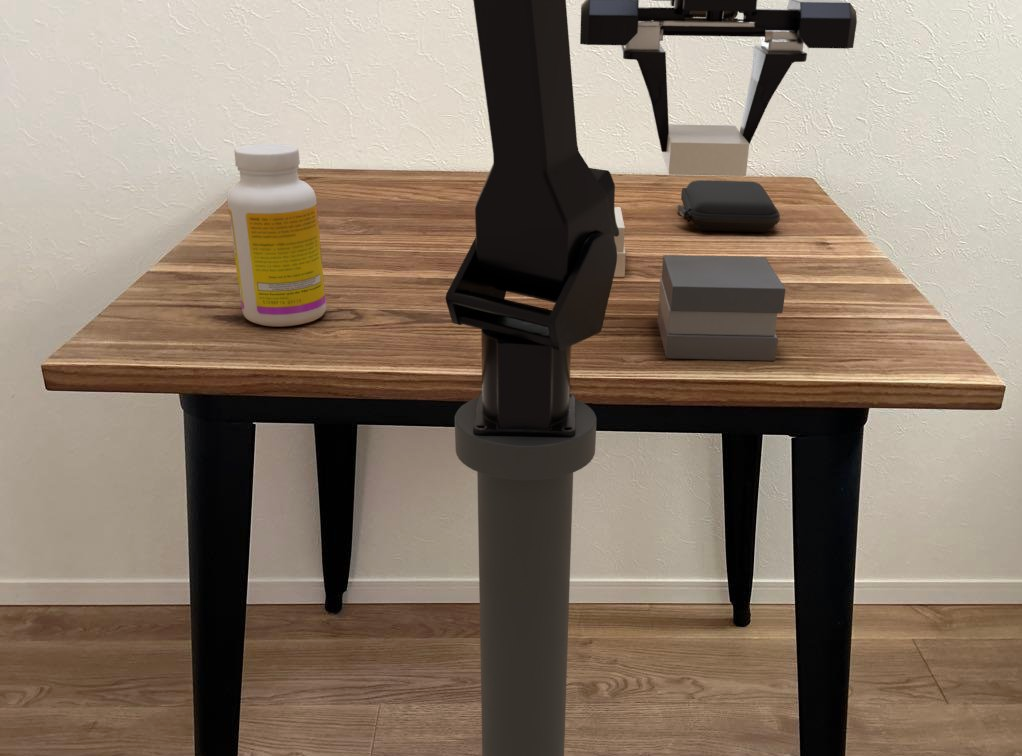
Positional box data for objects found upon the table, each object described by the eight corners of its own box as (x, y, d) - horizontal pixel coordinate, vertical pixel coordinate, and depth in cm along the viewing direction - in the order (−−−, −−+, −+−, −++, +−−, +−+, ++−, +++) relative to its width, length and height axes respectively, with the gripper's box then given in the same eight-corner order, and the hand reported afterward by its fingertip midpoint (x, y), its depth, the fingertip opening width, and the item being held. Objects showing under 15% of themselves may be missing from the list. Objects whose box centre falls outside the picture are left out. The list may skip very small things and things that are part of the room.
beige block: (624, 277, 96) (627, 228, 94) (558, 275, 96) (559, 226, 94) (620, 252, 104) (622, 206, 101) (559, 251, 104) (560, 205, 101)
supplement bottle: (343, 316, 85) (330, 148, 79) (274, 335, 81) (254, 159, 74) (294, 298, 89) (277, 137, 83) (226, 315, 85) (202, 147, 78)
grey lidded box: (776, 361, 77) (785, 288, 75) (666, 358, 77) (671, 286, 75) (757, 324, 85) (765, 256, 82) (657, 322, 85) (661, 254, 82)
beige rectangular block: (745, 176, 75) (749, 143, 74) (668, 174, 75) (670, 142, 74) (732, 155, 82) (735, 125, 81) (661, 154, 82) (663, 124, 81)
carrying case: (670, 203, 123) (678, 234, 110) (672, 176, 122) (680, 204, 109) (762, 205, 123) (780, 236, 110) (765, 178, 121) (784, 206, 108)
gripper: (839, -90, 77) (809, 135, 85) (584, -93, 78) (578, 131, 85) (875, -94, 67) (838, 161, 75) (583, -97, 68) (577, 157, 76)
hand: (703, 151), depth 78 cm, fingers closed on beige rectangular block, 5 cm apart
